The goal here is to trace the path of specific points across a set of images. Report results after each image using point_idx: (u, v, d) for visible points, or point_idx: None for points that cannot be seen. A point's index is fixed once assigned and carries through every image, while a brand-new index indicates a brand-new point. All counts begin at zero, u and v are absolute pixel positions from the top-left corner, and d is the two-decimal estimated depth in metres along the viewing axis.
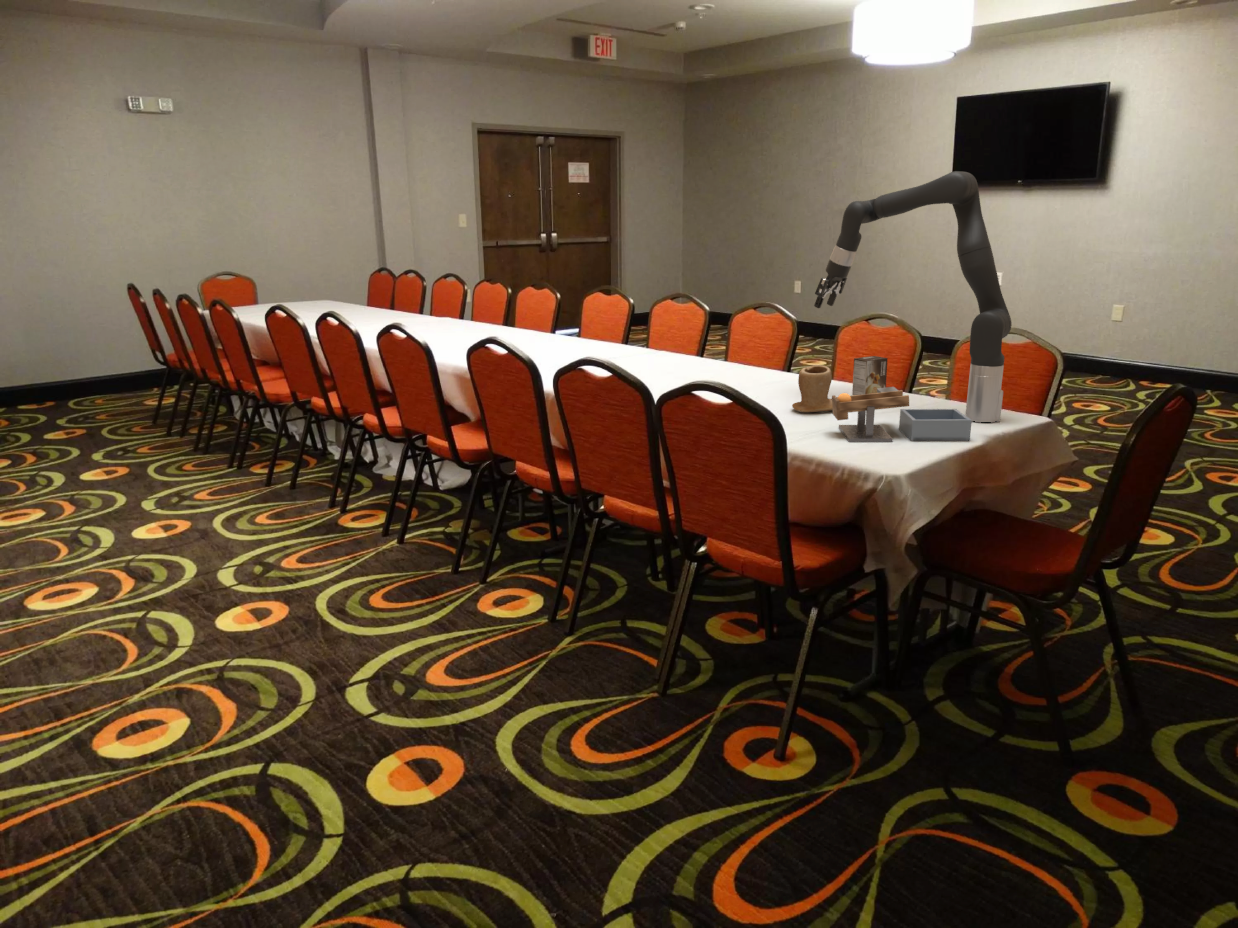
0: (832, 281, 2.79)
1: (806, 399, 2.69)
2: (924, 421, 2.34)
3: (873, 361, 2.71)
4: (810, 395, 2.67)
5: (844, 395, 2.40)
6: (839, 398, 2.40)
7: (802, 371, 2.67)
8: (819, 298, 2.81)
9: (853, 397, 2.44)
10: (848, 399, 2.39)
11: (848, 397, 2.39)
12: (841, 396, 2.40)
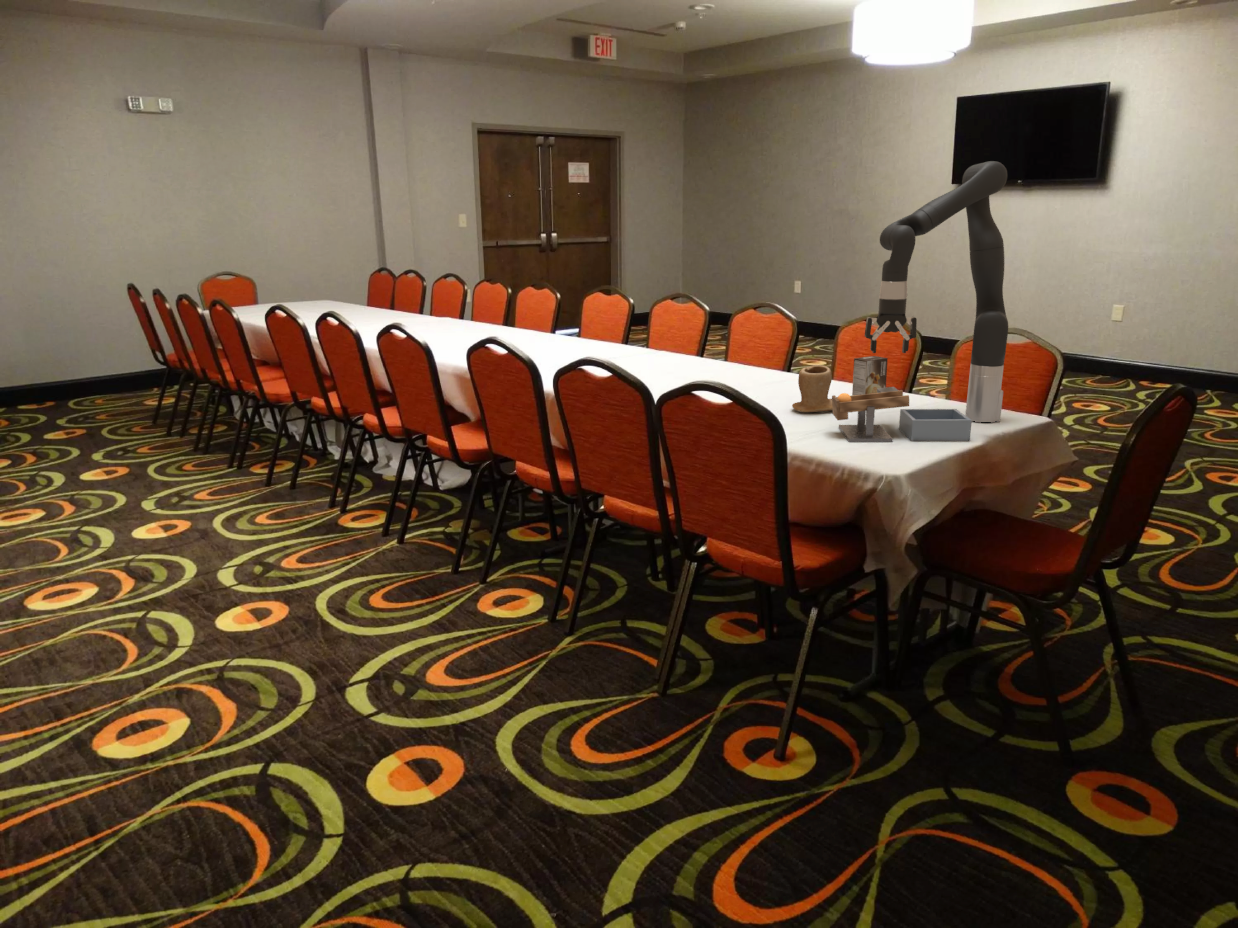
0: None
1: (806, 399, 2.69)
2: (924, 421, 2.34)
3: (873, 361, 2.71)
4: (810, 395, 2.67)
5: (844, 395, 2.40)
6: (839, 398, 2.40)
7: (802, 371, 2.67)
8: None
9: (853, 397, 2.44)
10: (848, 399, 2.39)
11: (848, 397, 2.39)
12: (841, 396, 2.40)
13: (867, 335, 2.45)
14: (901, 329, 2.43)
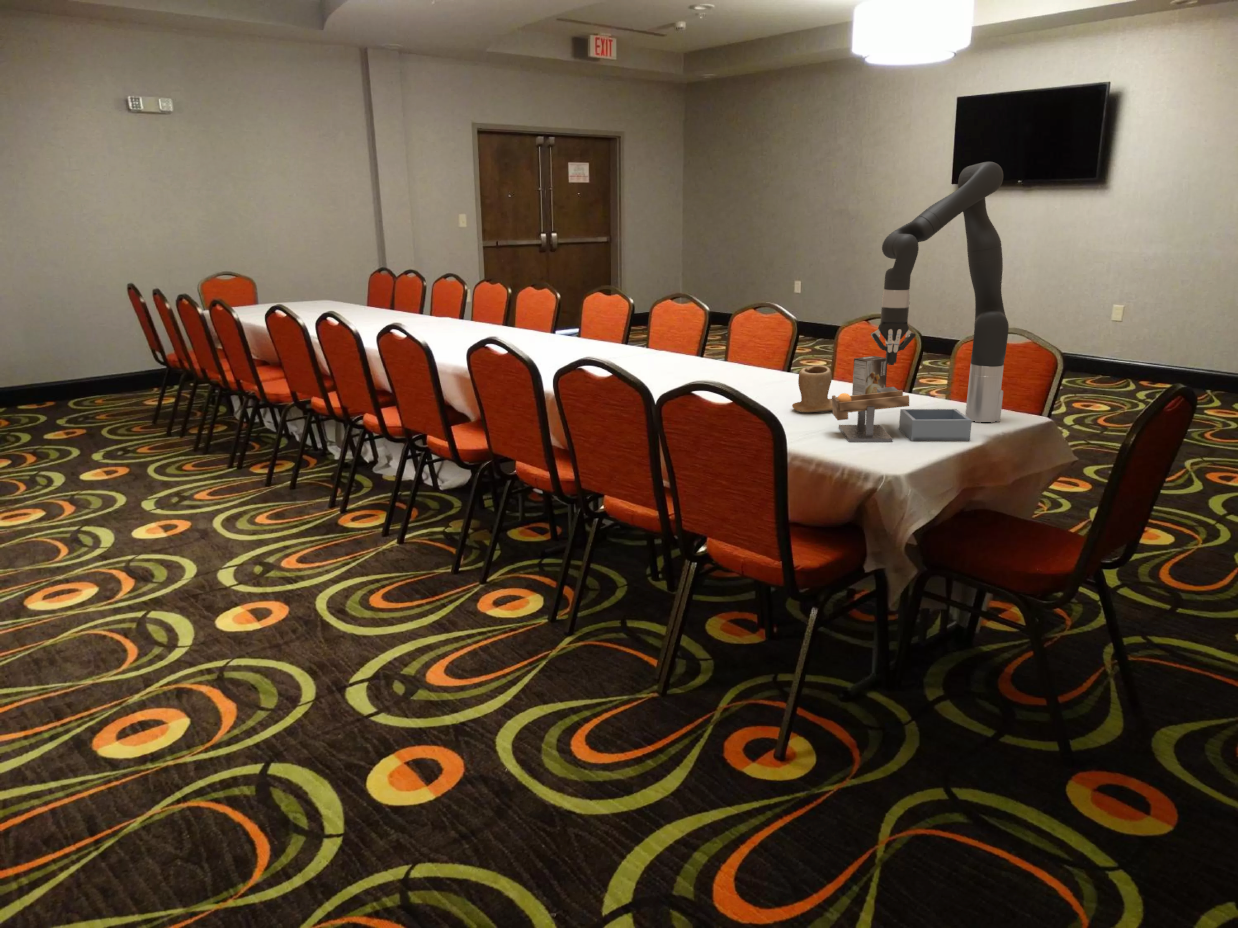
0: None
1: (806, 399, 2.69)
2: (924, 421, 2.34)
3: (873, 361, 2.71)
4: (810, 395, 2.67)
5: (844, 395, 2.40)
6: (839, 398, 2.40)
7: (802, 371, 2.67)
8: None
9: (853, 397, 2.44)
10: (848, 399, 2.39)
11: (848, 397, 2.39)
12: (841, 396, 2.40)
13: (882, 348, 2.45)
14: (897, 339, 2.43)
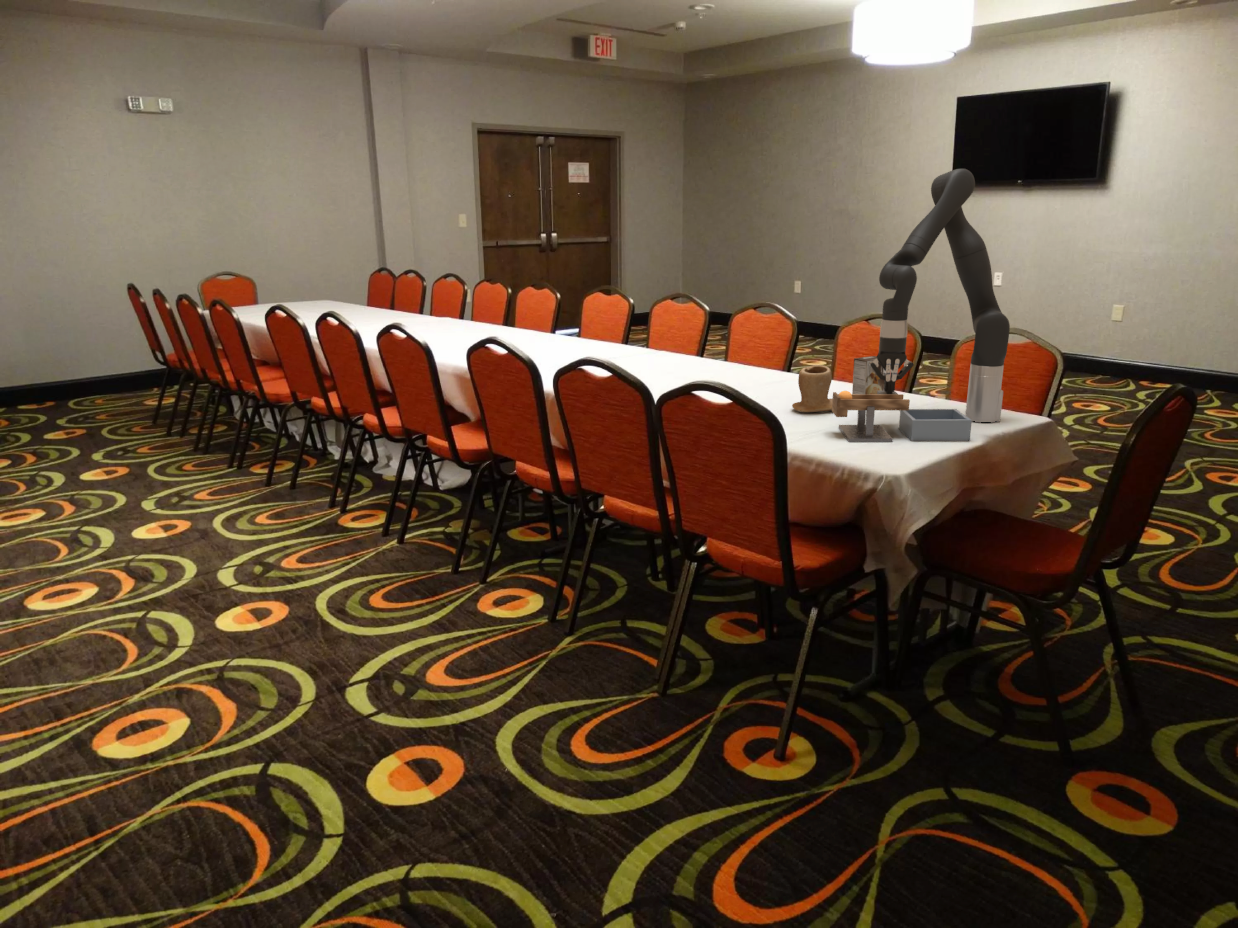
0: None
1: (806, 399, 2.69)
2: (924, 421, 2.34)
3: None
4: (810, 395, 2.67)
5: (846, 392, 2.39)
6: (840, 395, 2.40)
7: (802, 371, 2.67)
8: None
9: (854, 396, 2.44)
10: (849, 397, 2.39)
11: (849, 395, 2.39)
12: (842, 393, 2.39)
13: (880, 377, 2.47)
14: (896, 368, 2.46)
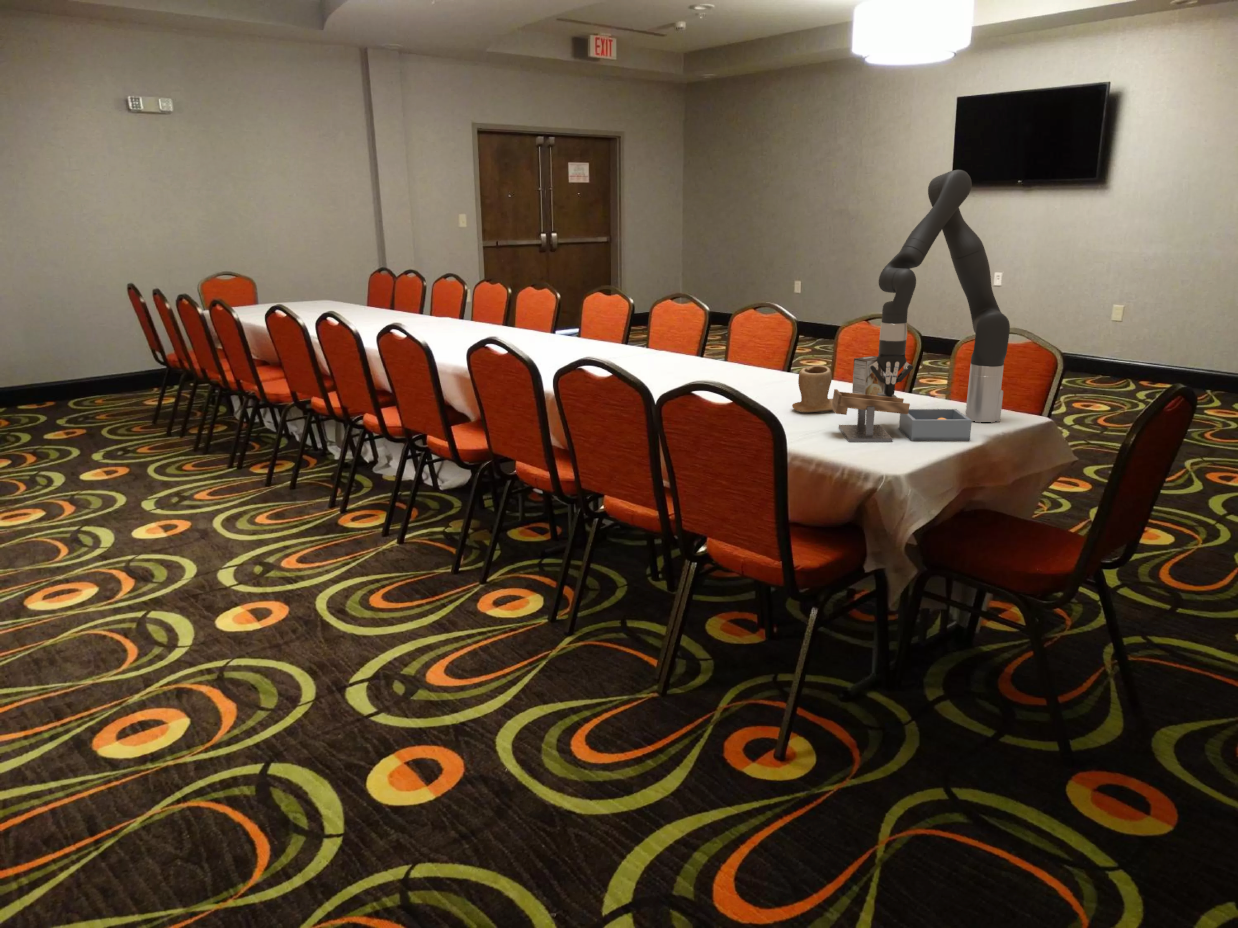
0: None
1: (806, 399, 2.69)
2: (924, 421, 2.34)
3: (873, 361, 2.71)
4: (810, 395, 2.67)
5: None
6: None
7: (802, 371, 2.67)
8: None
9: (854, 395, 2.43)
10: None
11: None
12: None
13: (880, 380, 2.48)
14: (895, 371, 2.46)
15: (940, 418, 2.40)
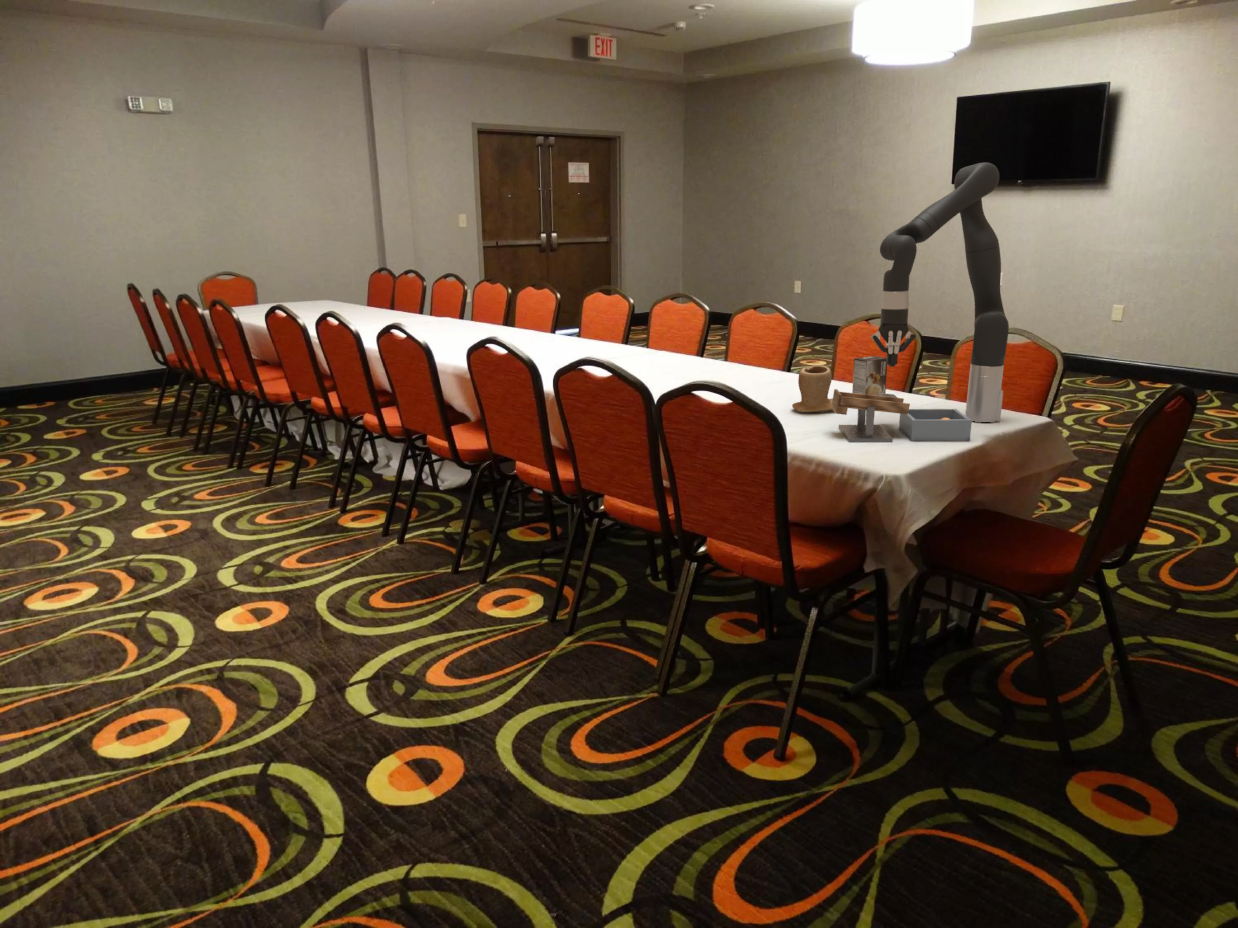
0: None
1: (806, 399, 2.69)
2: (924, 421, 2.34)
3: (873, 361, 2.71)
4: (810, 395, 2.67)
5: None
6: None
7: (802, 371, 2.67)
8: None
9: (855, 395, 2.43)
10: None
11: None
12: None
13: (883, 349, 2.44)
14: (898, 340, 2.43)
15: None
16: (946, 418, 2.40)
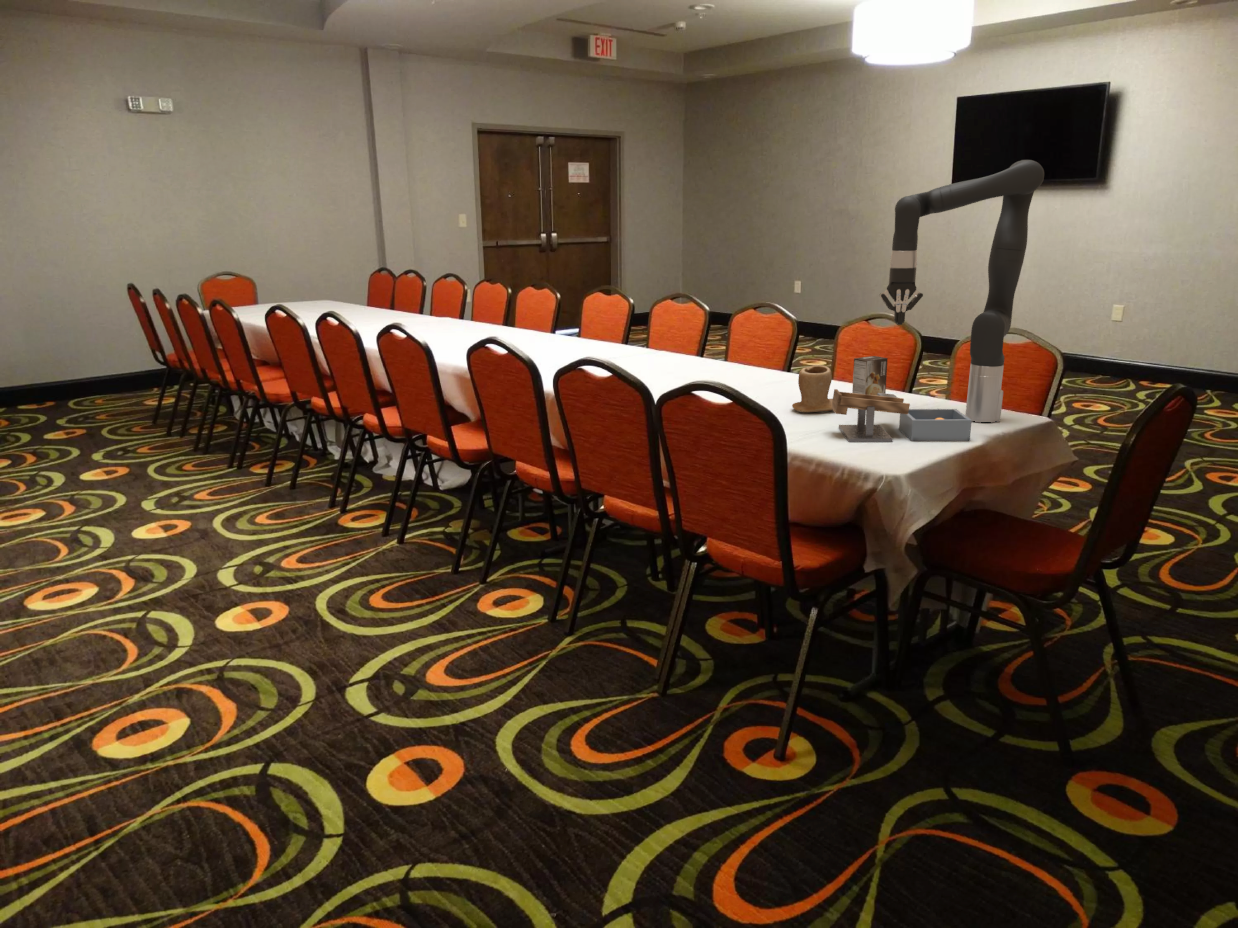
0: None
1: (806, 399, 2.69)
2: (924, 421, 2.34)
3: (873, 361, 2.71)
4: (810, 395, 2.67)
5: None
6: None
7: (802, 371, 2.67)
8: None
9: (855, 395, 2.43)
10: None
11: None
12: None
13: (891, 308, 2.53)
14: (905, 299, 2.51)
15: (940, 418, 2.40)
16: None
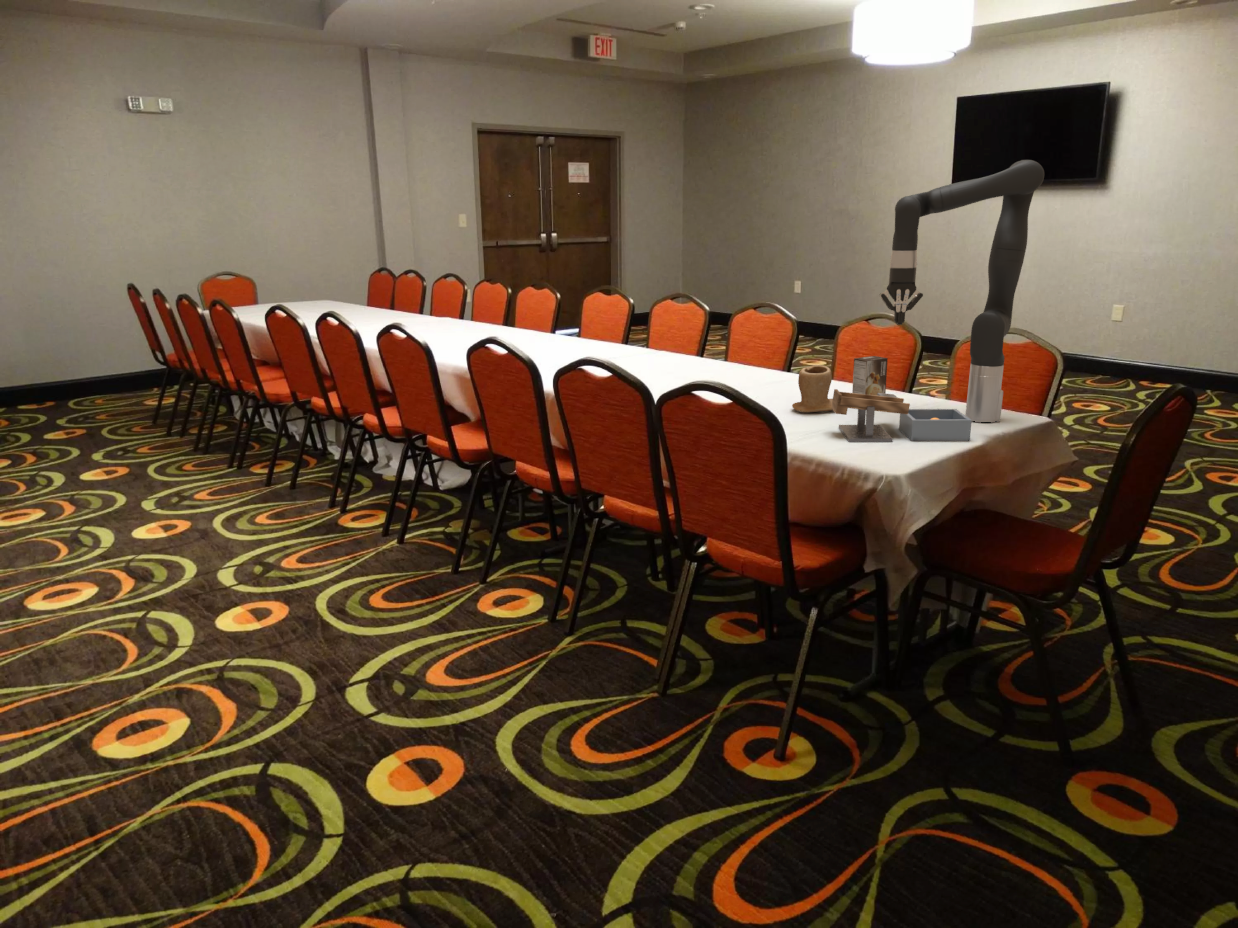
0: None
1: (806, 399, 2.69)
2: (924, 421, 2.34)
3: (873, 361, 2.71)
4: (810, 395, 2.67)
5: None
6: None
7: (802, 371, 2.67)
8: None
9: (855, 395, 2.43)
10: None
11: None
12: None
13: (891, 308, 2.53)
14: (905, 299, 2.51)
15: (931, 419, 2.41)
16: None
